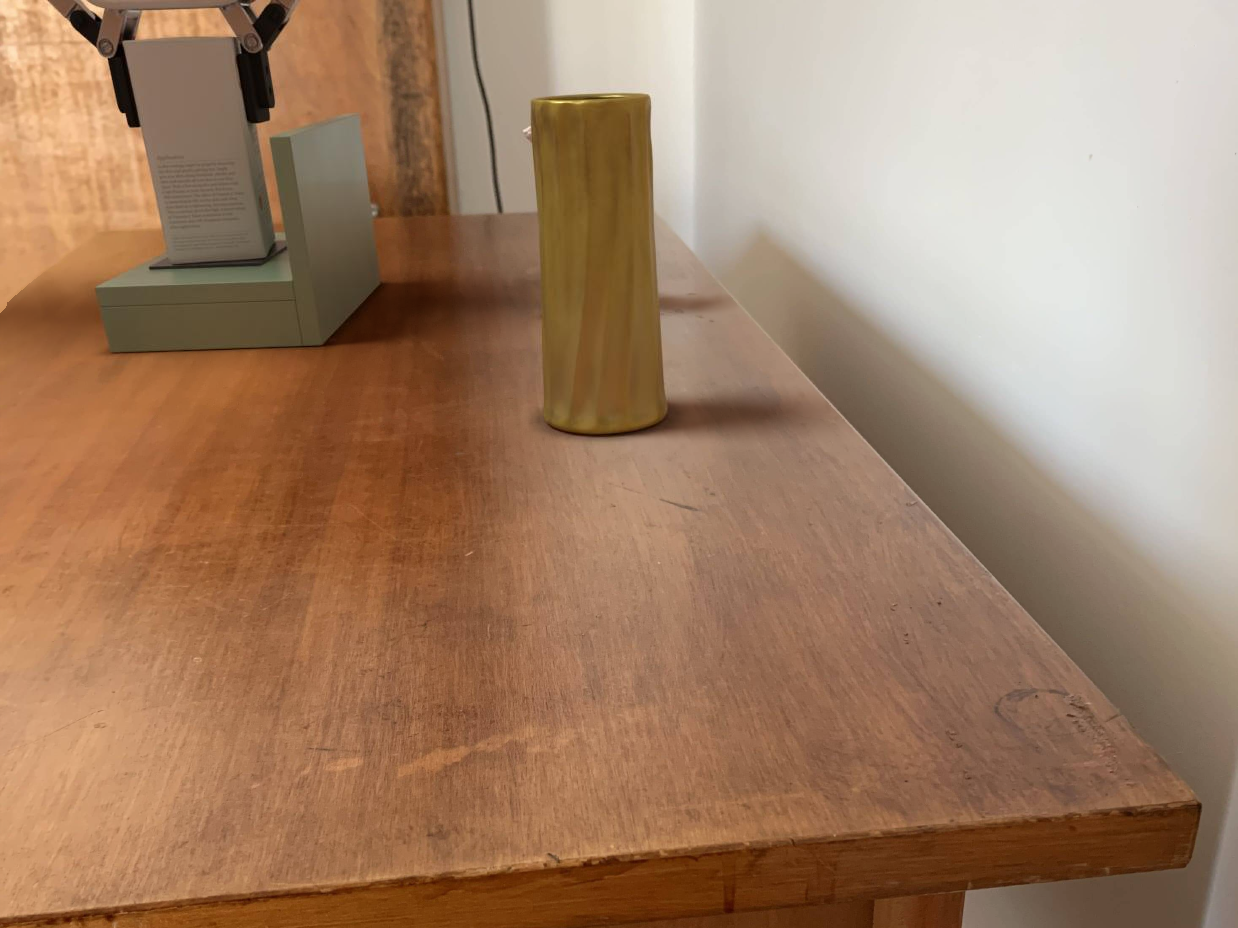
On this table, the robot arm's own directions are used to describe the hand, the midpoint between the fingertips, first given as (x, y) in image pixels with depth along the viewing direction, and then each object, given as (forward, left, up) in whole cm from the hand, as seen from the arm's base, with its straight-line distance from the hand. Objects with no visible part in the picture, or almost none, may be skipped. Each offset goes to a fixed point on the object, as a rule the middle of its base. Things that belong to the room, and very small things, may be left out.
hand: (200, 121), depth 75 cm
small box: (0, 0, -8) cm, 8 cm away
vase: (+26, -27, -13) cm, 40 cm away
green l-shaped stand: (+1, 0, -12) cm, 12 cm away
